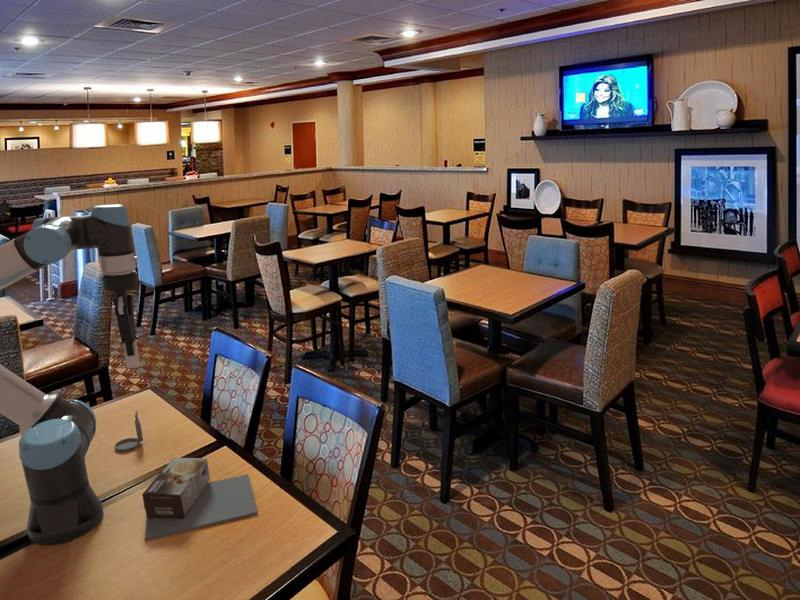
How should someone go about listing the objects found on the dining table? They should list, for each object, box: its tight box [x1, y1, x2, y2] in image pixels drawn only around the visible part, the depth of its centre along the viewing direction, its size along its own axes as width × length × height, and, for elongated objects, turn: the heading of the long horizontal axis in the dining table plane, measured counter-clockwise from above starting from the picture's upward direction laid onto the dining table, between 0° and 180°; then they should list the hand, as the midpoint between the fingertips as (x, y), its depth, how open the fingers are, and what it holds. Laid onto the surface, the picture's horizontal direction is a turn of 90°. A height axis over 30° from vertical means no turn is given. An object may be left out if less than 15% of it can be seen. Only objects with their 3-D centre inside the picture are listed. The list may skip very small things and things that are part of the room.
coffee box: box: [141, 457, 211, 518], centre depth 143 cm, size 9×6×16 cm
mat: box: [144, 473, 259, 542], centre depth 142 cm, size 24×18×1 cm
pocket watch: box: [114, 410, 144, 452], centre depth 170 cm, size 8×8×10 cm
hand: (133, 366), depth 146 cm, fingers closed
